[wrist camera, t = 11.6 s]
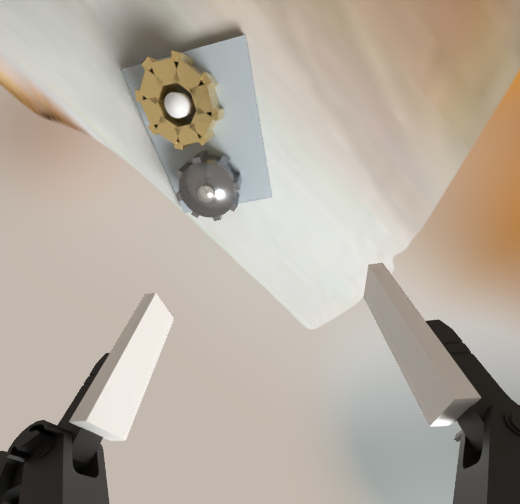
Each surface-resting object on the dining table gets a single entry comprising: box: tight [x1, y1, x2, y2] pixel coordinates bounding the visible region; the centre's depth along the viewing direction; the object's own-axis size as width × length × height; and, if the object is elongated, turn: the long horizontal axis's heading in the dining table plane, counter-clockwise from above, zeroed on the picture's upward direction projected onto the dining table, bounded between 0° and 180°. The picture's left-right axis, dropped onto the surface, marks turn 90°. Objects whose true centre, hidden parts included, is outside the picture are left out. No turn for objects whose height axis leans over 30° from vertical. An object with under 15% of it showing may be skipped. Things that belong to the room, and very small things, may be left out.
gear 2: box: [175, 150, 242, 221], centre depth 32 cm, size 9×9×6 cm
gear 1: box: [135, 50, 224, 150], centre depth 26 cm, size 9×9×5 cm
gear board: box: [121, 35, 272, 213], centre depth 29 cm, size 20×16×7 cm
